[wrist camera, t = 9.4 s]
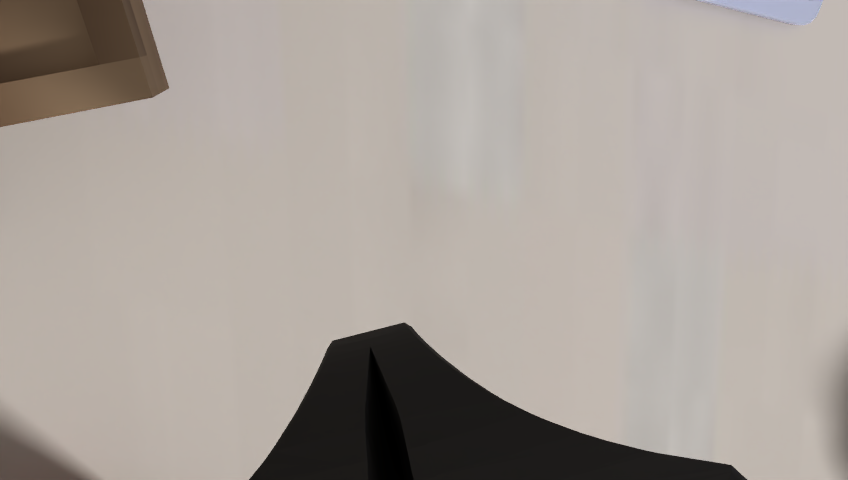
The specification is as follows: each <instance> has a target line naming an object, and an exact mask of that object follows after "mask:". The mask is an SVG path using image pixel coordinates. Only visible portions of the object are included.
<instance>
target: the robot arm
mask: <svg viewBox="0 0 848 480" xmlns="http://www.w3.org/2000/svg"><path fill="white" fill-rule="evenodd" d="M697 1H700V2H704V3H708V4H712V5H716V6H720V7H724V8H728V9H732V10H736V11H740V12H744V13H748V14H752V15H756V16H760V17H764V18H768V19H771V20H775V21H779V22H783V23H787V24H791V25H806V24H809V23H811V22H812V21H813V20H814V19H815V18H816V16H817V14H818V12H819V10H820V7H821V5H822V2H823V0H697ZM249 480H747V479H746V478H745V477H743V476H742V475H741V474H740V473H739V472H738V471H737V470H736V469H735V468H734V467H733V466H731V465H727V464H721V463H715V462H709V461H703V460H697V459H690V458H684V457H678V456H672V455H666V454H660V453H654V452H650V451H645V450H641V449H637V448H633V447H629V446H625V445H621V444H617V443H613V442H609V441H606V440H602V439H599V438H596V437H592V436H589V435H586V434H582V433H579V432H577V431H574V430H571V429H569V428H566V427H563V426H560V425H558V424H555V423H552V422H550V421H547V420H545V419H542V418H540V417H538V416H535V415H533V414H531V413H528V412H526V411H524V410H522V409H520V408H518V407H516V406H514V405H512V404H510V403H508V402H506V401H504V400H503V399H501V398H499V397H498V396H496V395H494V394H493V393H491V392H489V391H488V390H486V389H485V388H483V387H482V386H480V385H479V384H477V383H476V382H474V381H473V380H471V379H470V378H469V377H467V376H466V375H464V374H463V373H462V372H460V371H459V370H458V369H457V368H455V367H454V366H453V365H451V364H450V363H449V362H448V361H446V360H445V359H444V358H443V357H441V356H440V355H439V354H438V353H437V352H436V351H435V350H433V349H432V348H431V347H430V346H429V345H428V344H427V343H426V342H425V341H424V340H423V339H422V338H421V337H420V336H419V335H418V334H417V333H416V332H415V330H414V329H413V328H412V327H411V326H409V325H408V324H406V323H401V324H397V325H393V326H389V327H385V328H381V329H377V330H373V331H369V332H365V333H361V334H357V335H354V336H350V337H346V338H342V339H338V340H334V341H332V343H331V344H330V346H329V347H328V349H327V351H326V353H325V356H324V358H323V360H322V363H321V365H320V367H319V369H318V371H317V373H316V375H315V377H314V379H313V382H312V384H311V386H310V387H309V389H308V391H307V393H306V395H305V397H304V399H303V400H302V402H301V404H300V406H299V408H298V410H297V411H296V413H295V415H294V416H293V418H292V420H291V421H290V423H289V424H288V426H287V428H286V429H285V431H284V432H283V434H282V435H281V437H280V439H279V440H278V442H277V443H276V445H275V446H274V448H273V449H272V451H271V452H270V454H269V455H268V456H267V458H266V459H265V461H264V462H263V463H262V465H261V466H260V467H259V468H258V469H257V471H256V472H255V473H254V474H253V476H252V477H251V478H250V479H249Z"/></svg>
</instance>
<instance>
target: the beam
mask: <svg viewBox="0 0 848 480" xmlns="http://www.w3.org/2000/svg"><path fill="white" fill-rule="evenodd" d="M167 89H169V86H168V83H167V80H166V76H165V73H164V70H163V67H162V63H161V60H160V57H159V54H158V50H157V47H156V44H155V41H154V37H153V34H152V31H151V28H150V24H149V21H148V18H147V15H146V11H145V8H144V5H143V2H142V0H0V127H3V126H8V125H13V124H18V123H23V122H28V121H34V120H39V119H44V118H49V117H54V116H59V115H65V114H70V113H75V112H80V111H85V110H90V109H95V108H101V107H106V106H111V105H116V104H121V103H126V102H132V101H137V100H142V99H147V98H152V97H154V96H156V95H158V94H160V93H161V92H163V91H165V90H167Z"/></svg>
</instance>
